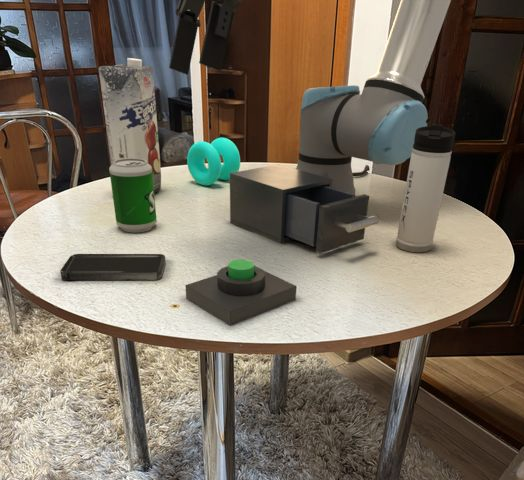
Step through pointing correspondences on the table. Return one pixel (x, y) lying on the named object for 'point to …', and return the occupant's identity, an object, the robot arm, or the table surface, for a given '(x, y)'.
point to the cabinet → (267, 198)
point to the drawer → (326, 217)
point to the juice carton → (131, 114)
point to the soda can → (133, 194)
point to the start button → (241, 269)
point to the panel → (240, 295)
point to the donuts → (213, 161)
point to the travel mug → (424, 187)
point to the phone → (114, 267)
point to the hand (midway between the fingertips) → (193, 69)
